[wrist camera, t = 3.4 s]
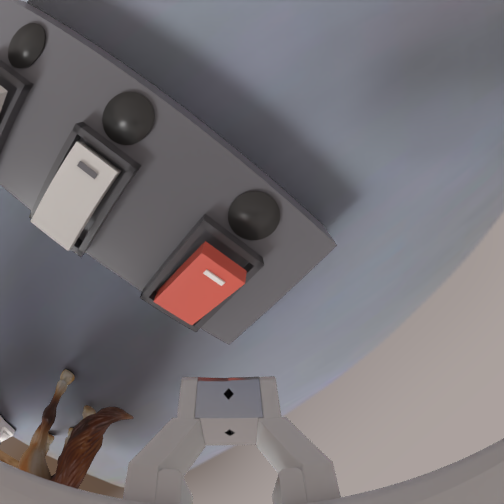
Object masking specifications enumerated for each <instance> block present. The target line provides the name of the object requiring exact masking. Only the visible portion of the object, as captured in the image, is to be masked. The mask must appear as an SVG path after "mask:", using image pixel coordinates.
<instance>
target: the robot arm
mask: <svg viewBox="0 0 504 504" xmlns="http://www.w3.org/2000/svg"><path fill="white" fill-rule="evenodd" d="M14 433H15V430H14V429H13V428H12V427H11V426H10V425H9V424H8V423H7V422H5V421H4V419H3V418H2V417H1V416H0V444H1V442H2V441H4V440H6V439H7V438H10V437H11V436H13V435H14ZM205 445H256V446H257V448H258V449H259V450H260V451H261V452H262V454H263V455H264V456H265V458H266V459H267V460H268V462H269V463H270V464H271V465H272V467H273V468H274V469H275V470H276V471H277V473H278V478H277V481H276V485H275V488H274V491H273V494H272V498H273V504H504V438H503V439H502V440H500V441H498V442H496V443H494V444H492V445H490V446H489V447H487V448H485V449H483V450H481V451H479V452H476V453H475V454H472V455H470V456H468V457H466V458H464V459H462V460H459V461H457V462H455V463H452V464H450V465H447V466H445V467H443V468H440V469H438V470H435V471H432V472H430V473H427V474H424V475H421V476H418V477H416V478H413V479H410V480H407V481H404V482H401V483H397V484H394V485H390V486H387V487H383V488H379V489H376V490H372V491H368V492H364V493H360V494H355V495H351V496H346V497H341V496H340V492H339V487H338V483H337V478H336V474H335V470H334V466H333V462H332V461H331V460H330V459H329V458H328V457H327V456H326V455H325V454H324V453H322V451H320V450H319V449H318V448H317V447H316V446H315V445H314V444H313V443H312V442H311V441H310V440H309V439H308V438H307V437H306V436H305V435H304V434H303V433H302V432H301V431H300V430H299V429H298V428H297V427H296V426H295V425H293V423H291V421H290V420H288V418H287V417H281V411H280V404H279V397H278V391H277V384H276V378H275V377H274V376H271V377H237V378H201V377H183V378H182V380H181V387H180V395H179V403H178V412H177V418H172V419H171V420H170V421H169V422H168V423H167V424H166V425H165V426H164V427H163V428H162V429H161V430H160V431H159V432H158V433H157V434H156V436H155V437H154V438H153V439H152V440H151V441H150V442H149V443H148V444H147V445H146V446H145V447H144V448H143V449H142V450H141V451H140V452H139V453H138V454H137V455H136V456H135V457H134V458H133V459H132V460H131V461H130V462H129V465H128V471H127V477H126V483H125V490H124V496H123V499H119V498H114V497H109V496H105V495H100V494H96V493H92V492H88V491H84V490H80V489H76V488H73V487H69V486H66V485H63V484H59V483H56V482H53V481H50V480H47V479H44V478H41V477H38V476H36V475H33V474H30V473H28V472H25V471H22V470H20V469H18V468H15V467H13V466H10V465H8V464H6V463H3V462H1V461H0V504H193V496H192V494H191V492H190V490H189V488H188V486H187V483H186V481H185V479H184V475H185V474H186V473H187V472H188V470H189V469H190V467H191V466H192V465H193V463H194V462H195V461H196V459H197V458H198V456H199V455H200V454H201V452H202V451H203V449H204V448H205Z"/></svg>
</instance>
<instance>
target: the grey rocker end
mask: <svg viewBox="0 0 504 504" xmlns="http://www.w3.org/2000/svg"><path fill="white" fill-rule="evenodd" d="M7 92H8V91H7V90H6V89H5V88H3V87H2V86H1V85H0V113H1V109H2V106H3V103H4V100H5V97H6V95H7Z"/></svg>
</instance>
